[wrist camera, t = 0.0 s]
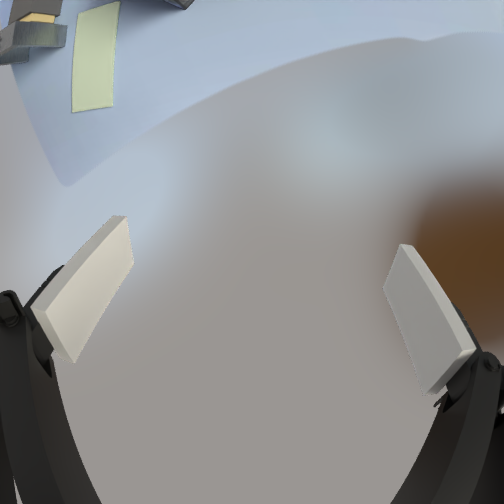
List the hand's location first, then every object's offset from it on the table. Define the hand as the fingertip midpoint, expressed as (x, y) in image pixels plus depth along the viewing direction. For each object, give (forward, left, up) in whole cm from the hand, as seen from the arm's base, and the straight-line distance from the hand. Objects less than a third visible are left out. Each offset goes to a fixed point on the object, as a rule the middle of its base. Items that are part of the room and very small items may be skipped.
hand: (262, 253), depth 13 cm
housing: (-20, -39, -27) cm, 52 cm away
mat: (-15, -27, -27) cm, 41 cm away
